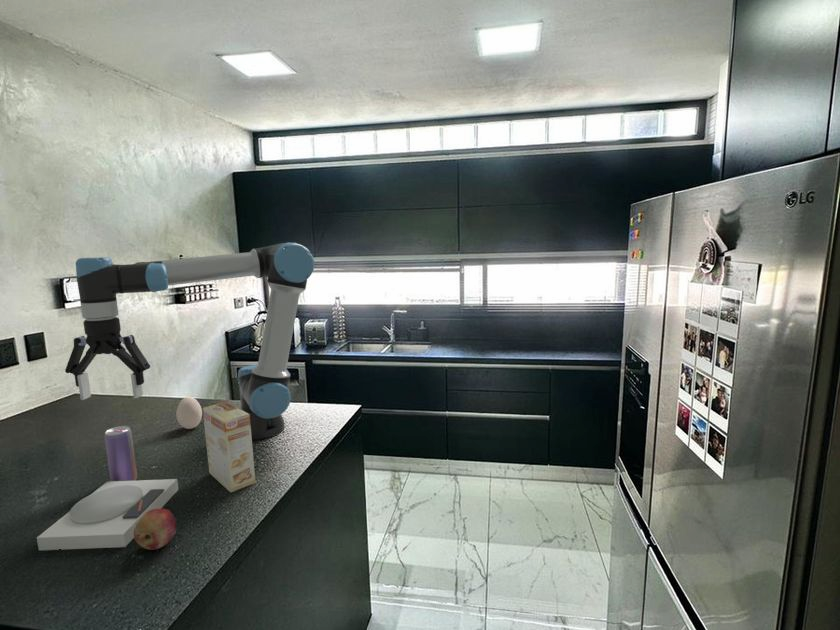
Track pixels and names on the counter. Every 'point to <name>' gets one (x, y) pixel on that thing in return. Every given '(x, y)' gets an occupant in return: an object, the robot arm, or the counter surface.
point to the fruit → (155, 529)
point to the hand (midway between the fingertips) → (112, 397)
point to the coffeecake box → (229, 445)
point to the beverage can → (120, 454)
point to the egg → (189, 413)
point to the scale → (107, 515)
